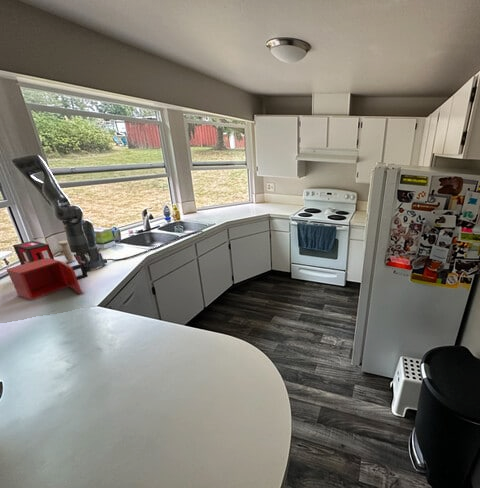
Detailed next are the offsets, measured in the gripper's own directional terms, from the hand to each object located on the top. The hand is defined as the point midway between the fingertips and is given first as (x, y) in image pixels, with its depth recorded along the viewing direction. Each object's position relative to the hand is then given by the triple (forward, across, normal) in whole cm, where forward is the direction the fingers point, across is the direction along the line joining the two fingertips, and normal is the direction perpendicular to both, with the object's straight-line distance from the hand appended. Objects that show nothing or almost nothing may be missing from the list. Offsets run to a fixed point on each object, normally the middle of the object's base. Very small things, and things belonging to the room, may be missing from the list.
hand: (87, 271), depth 141 cm
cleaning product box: (+10, +46, +5) cm, 47 cm away
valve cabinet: (+11, +19, +13) cm, 26 cm away
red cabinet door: (+10, +5, +3) cm, 12 cm away
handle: (+10, +54, -13) cm, 57 cm away
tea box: (+10, +70, -39) cm, 81 cm away
